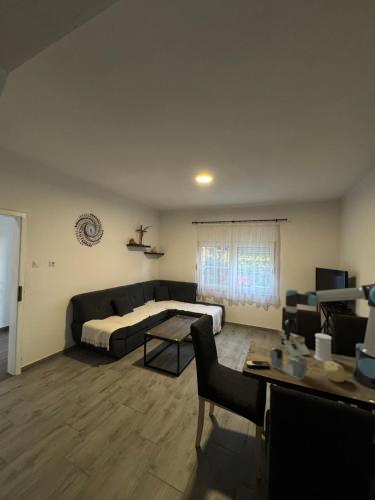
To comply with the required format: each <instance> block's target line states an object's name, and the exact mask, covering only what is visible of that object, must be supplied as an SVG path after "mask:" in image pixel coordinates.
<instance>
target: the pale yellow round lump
mask: <svg viewBox="0 0 375 500" xmlns="http://www.w3.org/2000/svg"><path fill="white" fill-rule="evenodd" d="M322 363H323V364H322V366H323V370H324V373H325V377H326V378H327V379H329V380H330V381H332V382H335V383H342V382H345V381H346V380H347V372H346V369H345V367H343V366H342V365H341V364H339V363H338V362H335V361H333V360H332V361H326V362H325V363H324V362H322Z"/></svg>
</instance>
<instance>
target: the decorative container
mask: <svg viewBox="0 0 375 500" xmlns="http://www.w3.org/2000/svg"><path fill="white" fill-rule="evenodd" d="M314 337H315V354H314V358H315V360H316V361H318V362H320V363H325V362H326V361H333V358H332V355H331V353H332V350H331V349H332V339H333V338H332V336H330V335H328V334H325V333H321V332H320V333H319V332H318V333H315V334H314Z"/></svg>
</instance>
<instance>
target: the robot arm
mask: <svg viewBox="0 0 375 500" xmlns="http://www.w3.org/2000/svg"><path fill="white" fill-rule="evenodd" d="M353 300H363V301H367V304H366V306H368V307H369V313H368V319H367V324H366V330H365V336H364V342H363V343H360V342H359V343H356V344H355V368H354V370H353V372H352V379H353V380H354V381H355V382H356V383H358V384H360V385H363V386H364V387H367V388H370V389H375V283H369V284H365V285H364V284H363V285H360V286H359V287H349V288H348V287H347V288H337V289H336V288H335V289H329V290H328V289H326V290H316V291H314V290H313V291H312V290H311V291H309V290H308V291H306V292H304V293H300V292H299V293H298V290H296V289H292V288H291V289H286V291H285V308H284V309H285V313H284V316H285V317H286V320H285V321H283V324H284V326H283V327H284V329H283V330H284V335H286V344H287V345H289V346H290V345H291V343H293V342H291V336H290V333H293V334H296V335H297V333H298V320H299V319H297V317H298V305H300V306H301V305H302V306H307V307H314V308H315V307H317V305H318V302H319V303H321V302H336V301H353ZM293 344H295V343H293Z"/></svg>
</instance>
